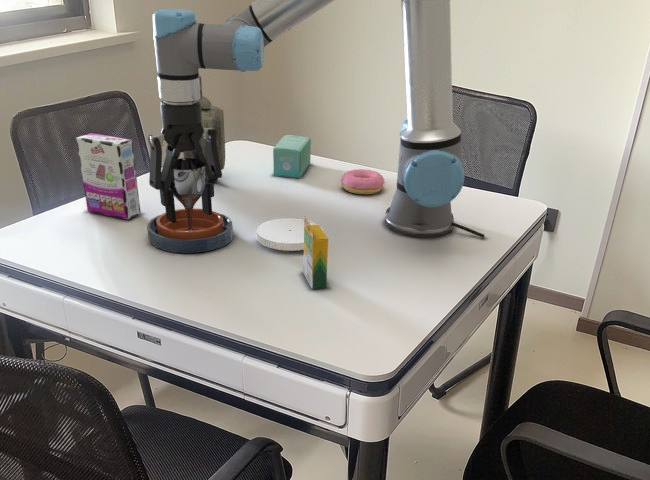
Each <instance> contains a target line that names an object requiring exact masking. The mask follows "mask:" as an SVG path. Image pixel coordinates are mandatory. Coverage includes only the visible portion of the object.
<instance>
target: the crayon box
mask: <svg viewBox="0 0 650 480" xmlns="http://www.w3.org/2000/svg"><path fill="white" fill-rule="evenodd" d="M303 220H304V250H303V257H302V258H303V259H302V262H303V264H302V274H303V275H304V277H305V279H306V281H307V284H308V285H309V286H310V289H311V290H319V289H326V288H327V281H328V280H327V277H328V258H329V257H328V254H329V238H328V237H327V235H326V233H325V232H323V231H324V230H323V231H322V229H321V228H320V226H321V225H320V226H319V224H318V225H310V223H309V222H308V221H309V220H308V218H307V217H306V216H303ZM307 224H308V225H307Z"/></svg>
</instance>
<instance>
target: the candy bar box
mask: <svg viewBox="0 0 650 480" xmlns="http://www.w3.org/2000/svg"><path fill="white" fill-rule="evenodd" d="M75 139H76V140H75V141H76V147H77V152H78V158H79V159H78V160H79V165H80V172H81V179H82V183H83V190H84V196H85V197H84V198H85V204H86V207H87V208H86V209H87V212H89V213H92V214H97V215H102V216H108V217H112V218H117V219H122V220H127V221H128V220H130V219H132V218H135V217H137V216H139V215H141V214H142V212H141V205H140V196H139V188H138V179H137V171H136V161H135V154H134V145H133V140H132V139H130V138H123V137H117V136H112V135H111V136H110V135H105V134H98V133H91V132H90V133H85V134H83V135H80V136H78V137H75Z"/></svg>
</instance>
